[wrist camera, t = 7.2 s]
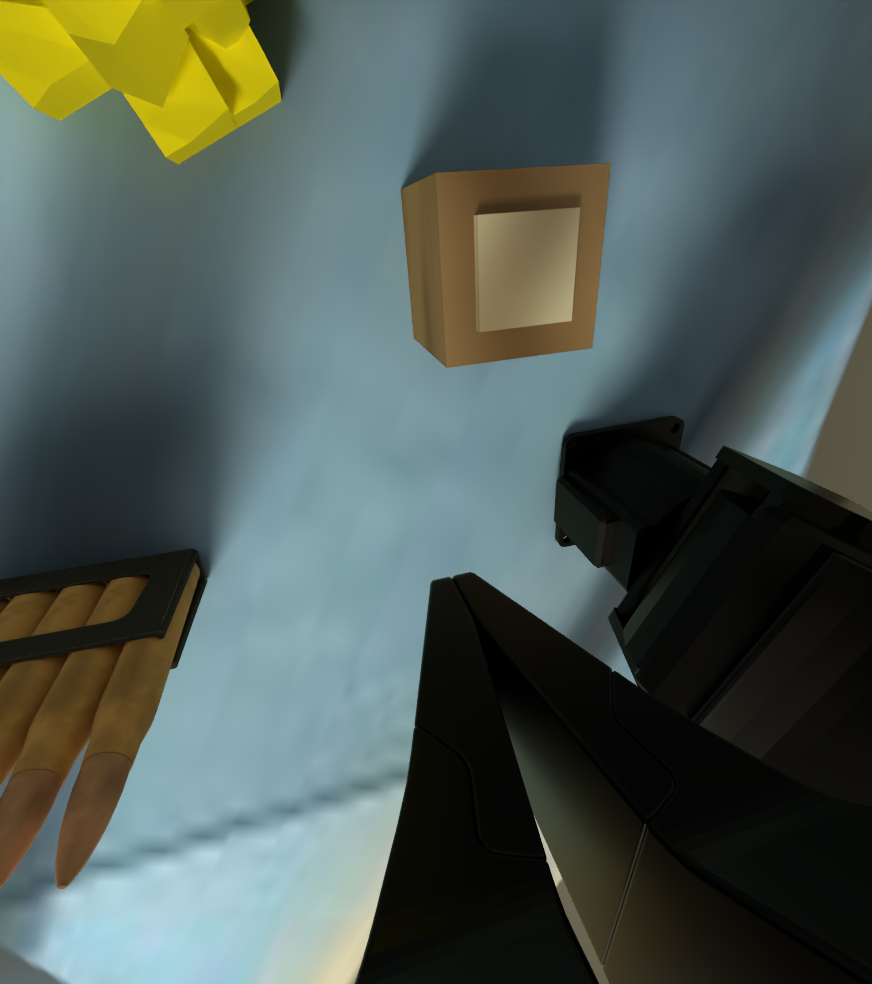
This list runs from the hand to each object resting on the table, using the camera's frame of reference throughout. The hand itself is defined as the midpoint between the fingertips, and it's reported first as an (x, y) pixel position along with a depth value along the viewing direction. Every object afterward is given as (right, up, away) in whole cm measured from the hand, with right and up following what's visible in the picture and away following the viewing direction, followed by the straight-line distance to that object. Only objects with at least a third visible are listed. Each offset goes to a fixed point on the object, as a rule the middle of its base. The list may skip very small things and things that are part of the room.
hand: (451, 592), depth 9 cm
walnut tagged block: (+1, +11, +9) cm, 14 cm away
